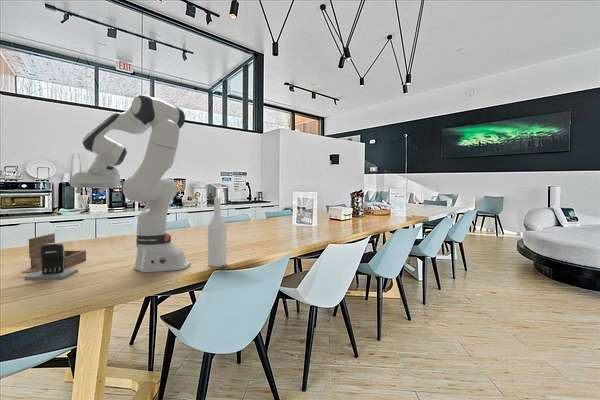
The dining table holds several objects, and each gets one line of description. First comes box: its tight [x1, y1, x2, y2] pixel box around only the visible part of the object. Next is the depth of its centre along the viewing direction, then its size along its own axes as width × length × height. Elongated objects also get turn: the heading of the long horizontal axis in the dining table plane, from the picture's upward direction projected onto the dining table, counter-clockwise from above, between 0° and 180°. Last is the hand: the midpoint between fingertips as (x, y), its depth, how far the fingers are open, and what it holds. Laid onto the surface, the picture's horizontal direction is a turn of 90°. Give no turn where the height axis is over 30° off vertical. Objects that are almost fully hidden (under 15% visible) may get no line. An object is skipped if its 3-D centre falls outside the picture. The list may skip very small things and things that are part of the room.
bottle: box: [207, 197, 227, 267], centre depth 139 cm, size 8×8×30 cm
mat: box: [24, 269, 79, 281], centre depth 120 cm, size 13×10×1 cm
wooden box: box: [21, 233, 87, 273], centre depth 134 cm, size 14×20×12 cm
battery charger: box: [41, 242, 65, 274], centre depth 119 cm, size 7×4×11 cm, turn 119°
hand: (88, 192), depth 143 cm, fingers open, 8 cm apart
